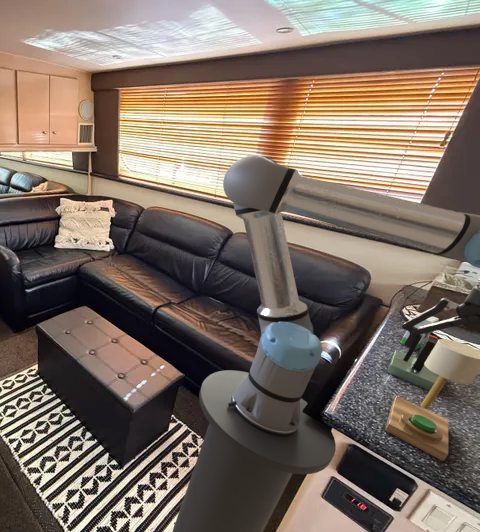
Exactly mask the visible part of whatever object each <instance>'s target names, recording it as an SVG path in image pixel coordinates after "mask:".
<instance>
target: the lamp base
mask: <svg viewBox="0 0 480 532" xmlns="http://www.w3.org/2000/svg"><path fill="white" fill-rule="evenodd" d="M415 414H417V415H421V416H424V417H426V418H428V419H430V420H431V421H433V422H434V423H435V424H436V426H437V428H436V429H435V431H434V432H433V433H432V434H430V433H427V432H424V431H422V430H420V429H418V428H417V427H415V426H414V425H413V424H411V422H410V420H411V418H412V417H413V415H415ZM384 431H385V432H387V433H389V434H391V435H393V436H394V437H396V438H399V439H400V440H402V441H404V442H406V443H408V444H410V445H412V446H413V447H415V448H418V449H419V450H421V451H423V452H425V453H427V454H429V455H430V456H432V457H434V458H436V459H438V460H440V461H442V462H444V461H445V459H446V458H447V457H448V456H449V419H447V418H445V417H443V416H441V415H439V414H436V413H434V412H432V411H430V410H429V409H424V408H422V407H421V406H419V405H417V404H415V403H413V402H411V401H408V400H406V399H404V398H402V397H400V396H398V395H396V396H394V398H393V400H392V402H391V406H390V409H389V413H388V417H387V421H386V425H385V429H384Z"/></svg>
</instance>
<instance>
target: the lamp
mask: <svg viewBox="0 0 480 532" xmlns="http://www.w3.org/2000/svg"><path fill="white" fill-rule="evenodd" d="M424 365H425V366H426V367H427V368H428V369H429V370H430V371H432V372H433V373H435V374H437V375H439V378H438V379H437V381H436V382H435V384H434V385H433V387H432V388H431V390H430V391H429V390H428V393H427V394H426V396H425V397H424V398H423V400H422V402H421V403H420V407H421V408H424V409H426V410H429V408H430V407H431V405H432V404H433V402H434V401H435V400H436V398H437V396H438V395H439V393H440V392H441V390H442V389H443V388H444V386H445V384H446V383H447V381H451V382H454V383H456V384H461V385H471V384H472V383H473V382H474V380H475V379H476V377H477V376H478V374H479V373H480V350H479V349H477V348H475V347H472V346H470V345H468V344H465V343H462V342H459V341H455V340H452V339H448V338H439V339H437V343H436V345H435V347H434V348H433V350H432V351H431V353H430V355H429V356H428V358H427V360H426V361H425V363H424Z"/></svg>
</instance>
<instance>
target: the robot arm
mask: <svg viewBox="0 0 480 532" xmlns="http://www.w3.org/2000/svg"><path fill="white" fill-rule="evenodd" d="M299 171H300V170H298V169H297V168H292V167H288V166H285V165H281V164H278V162H276V161H275V160H274V159H273V158H270V157H268V156H263V155H247V156H245V157H244V156H243V157H242V158H239V159H238V160H236V161H235V162H233V163H232V164H231V165H230V166H229V167H228V169H227V170H226V172H225V174H224V176H223V181H222V188H223V191H224V193H225V196H226V197H227V199H228V200H229V201H230V202H231V203H232V204H233V208H234V212H235V216H236V217H238V218H240V219H241V220H243V224H244V228H245V233H246V237H247V243H248V248H249V252H250V256H251V261H252V265H253V270H254V274H255V279H256V284H257V289H258V293H259V298H260V303H261V304H260V305H259V306H258V308H256V313H257V317H258V322H259V327H260V328H259V329H260V337H259V342H258V345H257V349H256V353H255V355H254V358H253V361H252V362H251V363H252V364H251V365H250V369H249V372H248V373H249V374H248V376H247V377H246V378H245V379H244V380H243V381H242V382H241V383H240V384H239V385H238V386H237V387H236V388H235V389H234V391H233V394H232V397H231V401H232V402H230V403H228V405H229V407H231V406H233V407H234V409H235V410H236V412H237V413H238V414H239V415H240V416H241V417H242V418H243V419H244V420H245V421H246V422H248V423H249V424H251V425H252V426H254V427H255V428H257V429H259V430H261V431H263V432H266V433H268V434H272V435H276V436H290V435H292V434H294V433H295V432H296V431H297V429H298V427H299V423H300V416H301V412H300V399H301V398H302V397H303V395H304V393H305V391H306V388H307V386H308V384H309V383H310V380H311V378H312V376H313V374H314V371H315V369H316V367H317V366H318V364H319V363H320V361H321V358H322V353H323V344H322V342H321V340H320V339H319V338H318V336H317V335H315V334H314V326H313V324H312V322H311V319H310V313H309V309H308V305H307V304H306V303H304V302H303V301H301V300H300V299H299V295H298V289H297V284H296V280H295V279H296V278H295V276H294V269H293V264H292V260H291V254H290V250H289V244H288V240H287V234H286V231H285V225H284V221H283V215H282V212H286V213H290V214H293V215H297V216H301V217H304V218H308V219H312V220H315V221H319V222H322V223H326V224H330V225H333V226H337V227H341V228H344V229H348V230H351V231H355V232H358V233H362V234H365V235H369V236H373V237H376V238H380V239H383V240H388V241H391V242H394V243H398V244H402V245H405V246H409V247H413V248H416V249H419V250H423V251H427V252H431V253H433V254H434V253H435V254H438V255H441V256H444V257H447V258H451V259H455V260H458V261H462V262H465V263H468V264H469V265H471V266H472V267H474V268H476V269H480V214H475V213H469V212H468V213H467V212H462V211H456V210H451V209H445V208H442V207H437V206H434V205H429V204H424V203H420V202H416V201H411V200H408V199H402V198H399V197H394V196H391V195H386V194H381V193H377V192H374V191H373V192H372V191H368V190H364V189H360V188H355V187H351V186H347V185H342V184H339V183H333V182H329V181H325V180H321V179H317V178H313V177H308V176H303V175H302V174H301V173H300V172H299ZM476 282H477V283H478V284H476V285H473V287H472V288H471V290H470V291H469V293H468V295H467V296H466V298H465V300H464V301H463V302H462V303H460V304H459V303H456V302H454V301H452V300H450V299H449V298H448V297H443V298H440V300H439V302H437V304H436V305H435V306H433V307H431V308H429V309H426V310H425V311H423V312H420V313H421V314H420V313H419V314H420V315H418V314H417V315H418V316H416V315H415V316H416V317H415V316H414V317H412V318H411V319H408V320H407V321H405V322H404V323H403V324H402V325H401V328H402V329H403V330H406V331H409V333H410V335H409V337H408V338H407V340H406V342H405V345H404V346H406V347H407V348H409V349H408V350H407V352H406V353H405V354H406V356H405V357H404V359H403V361H406V362H408V360H409V358H410V357H411V356H413V354H414V352H415V348H416V347H417V345H418V343H419V342H420V340H421V338H422V336H423V335H421V334H425V333H429V332H431V333H433V332H436V331H441V330H444V329H448V328H452V327H453V328H454V327H459V326H463V327H464V328H465V330H469V331H471V332H472V331H473V332H477V333H480V276H479V277H478V278H477V280H476ZM452 309H453V310H456V314H457V316H454V317H450V318H447V319H443V320H440V321H438V322H436V323H432V324H428V325H425V326H421V327H417V328H416V327H414V326H415V325H417V324H419V323H420V322H422V321H424V320H426V319H428V318H430V317H432V316H433V317H435V315H438V314H439V313H441V312H442V311H446V312H447V311H450V310H452Z"/></svg>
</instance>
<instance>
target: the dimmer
mask: <svg viewBox="0 0 480 532" xmlns="http://www.w3.org/2000/svg"><path fill="white" fill-rule="evenodd" d="M406 354H407V353H406V352H402V351H400V350H397V349H395V351H394V352H393V354H392V356H391V358H390V361H389V364H388V367H387V370H386V373H387V374H390V375H392V376H394V377H397V378H399V379H401V380H404V381H406V382H408V383H411V384H412V385H415V386H418V387H420V388H421V389H424V390H427V391H428V392H429V391H430V390H431V388H432V387H433V385H434V384H435V382H436V381H437V379H438V378H439V375H437V374H435V373H433V372H432V371H430V370H429V369H428V368H427V367H426V366H425V365H424V366H423V368H422V370H421V371H418V370H416V369H414V368H412V364H413V360H414V359H415V357H416V356H413V355H411V357H410V358H409V360H408V362H406V361H403V359H404V357H405V356H406Z"/></svg>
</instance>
